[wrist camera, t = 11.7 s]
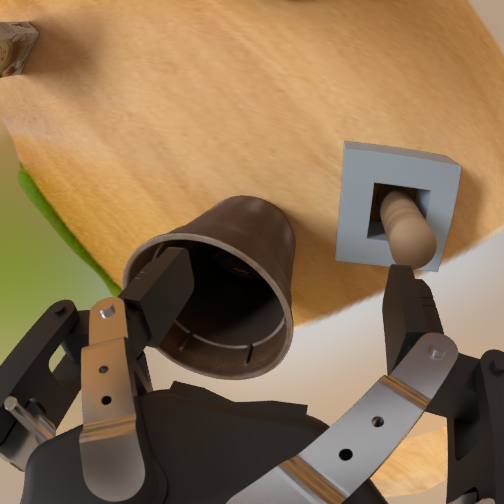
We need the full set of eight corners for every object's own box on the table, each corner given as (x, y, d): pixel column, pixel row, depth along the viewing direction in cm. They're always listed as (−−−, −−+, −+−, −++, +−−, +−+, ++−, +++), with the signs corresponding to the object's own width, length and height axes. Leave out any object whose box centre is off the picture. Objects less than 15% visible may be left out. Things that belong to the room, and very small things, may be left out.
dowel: (377, 180, 32) (395, 222, 22) (410, 184, 31) (441, 228, 21) (373, 213, 34) (386, 267, 24) (405, 217, 33) (430, 271, 23)
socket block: (344, 140, 31) (345, 148, 27) (445, 155, 28) (461, 166, 24) (336, 239, 37) (335, 260, 32) (427, 250, 34) (437, 271, 30)
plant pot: (190, 169, 37) (108, 220, 24) (321, 188, 34) (309, 258, 21) (192, 277, 45) (136, 353, 32) (300, 300, 42) (278, 395, 29)
